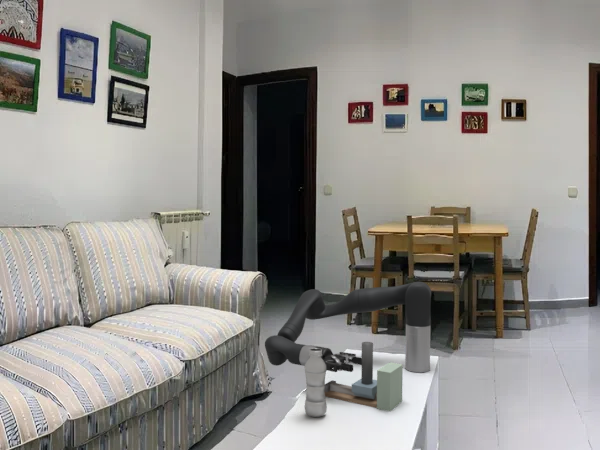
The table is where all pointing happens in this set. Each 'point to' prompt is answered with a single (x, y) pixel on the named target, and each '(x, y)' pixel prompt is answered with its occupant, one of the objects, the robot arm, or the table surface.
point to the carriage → (366, 374)
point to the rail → (347, 394)
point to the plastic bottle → (315, 384)
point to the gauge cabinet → (389, 386)
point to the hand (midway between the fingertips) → (358, 365)
